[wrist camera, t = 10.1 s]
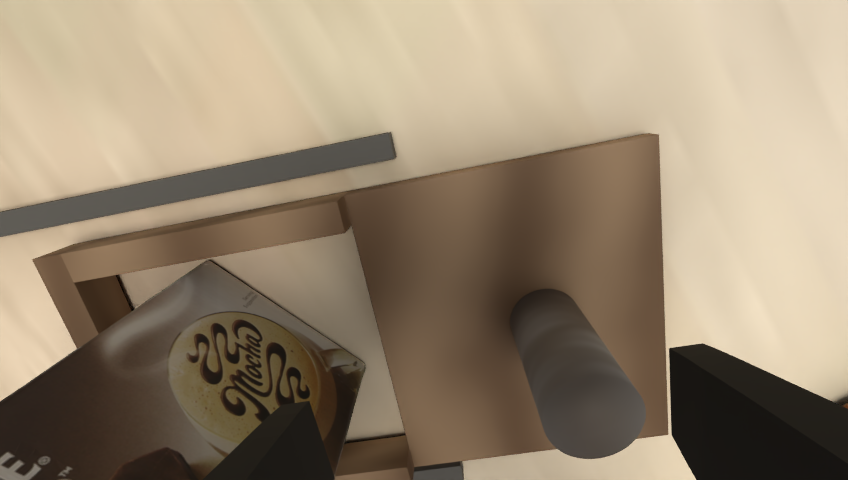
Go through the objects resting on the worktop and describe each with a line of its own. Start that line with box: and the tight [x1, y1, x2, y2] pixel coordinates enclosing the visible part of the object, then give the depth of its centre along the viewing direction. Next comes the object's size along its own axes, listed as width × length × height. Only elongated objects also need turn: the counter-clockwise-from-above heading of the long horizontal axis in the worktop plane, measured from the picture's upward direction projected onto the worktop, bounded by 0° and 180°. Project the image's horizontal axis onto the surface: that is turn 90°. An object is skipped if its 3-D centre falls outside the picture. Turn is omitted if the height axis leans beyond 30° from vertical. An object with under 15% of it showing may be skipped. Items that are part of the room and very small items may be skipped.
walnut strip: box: [33, 133, 668, 480], centre depth 16 cm, size 25×14×7 cm, turn 101°
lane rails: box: [0, 132, 464, 480], centre depth 22 cm, size 28×30×1 cm
